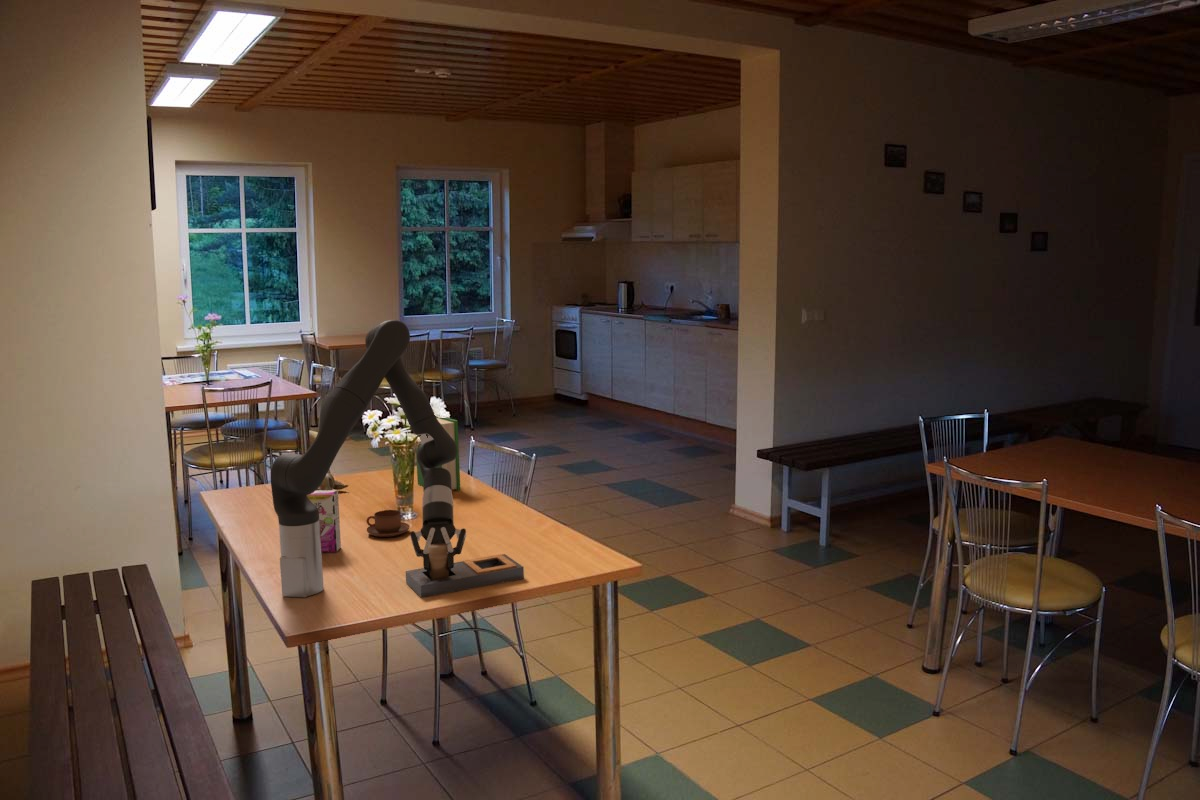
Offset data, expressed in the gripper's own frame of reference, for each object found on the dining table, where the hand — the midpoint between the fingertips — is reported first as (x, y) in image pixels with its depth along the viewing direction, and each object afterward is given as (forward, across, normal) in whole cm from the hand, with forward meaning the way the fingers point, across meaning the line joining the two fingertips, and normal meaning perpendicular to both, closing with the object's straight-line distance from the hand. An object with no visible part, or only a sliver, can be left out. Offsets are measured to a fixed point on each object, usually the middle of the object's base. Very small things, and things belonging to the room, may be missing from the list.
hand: (438, 569), depth 231 cm
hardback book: (-69, -2, +76) cm, 103 cm away
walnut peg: (+2, 0, +5) cm, 5 cm away
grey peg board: (0, +6, +6) cm, 9 cm away
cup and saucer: (-31, -16, +39) cm, 52 cm away
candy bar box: (-22, -33, +29) cm, 50 cm away
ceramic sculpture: (-70, -41, +77) cm, 112 cm away
